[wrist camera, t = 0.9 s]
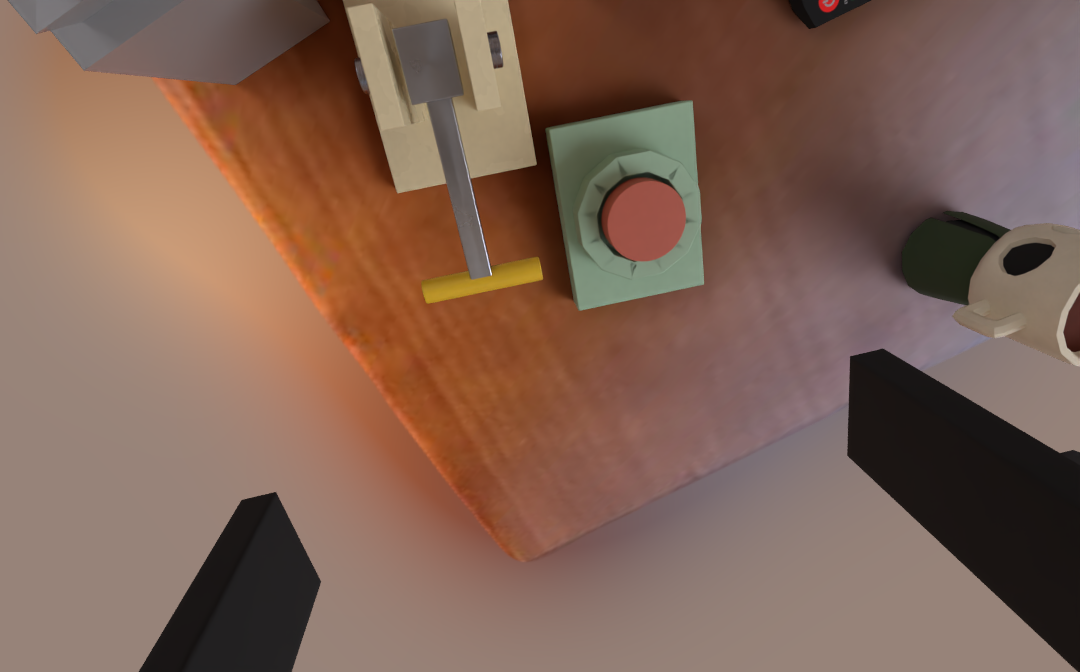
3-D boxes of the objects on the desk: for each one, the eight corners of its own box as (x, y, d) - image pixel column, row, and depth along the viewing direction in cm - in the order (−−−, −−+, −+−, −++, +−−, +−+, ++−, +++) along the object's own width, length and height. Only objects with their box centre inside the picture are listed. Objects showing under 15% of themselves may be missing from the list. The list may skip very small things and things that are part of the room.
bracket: (535, 163, 36) (564, 190, 24) (399, 190, 35) (361, 232, 24) (496, -55, 31) (508, -155, 19) (339, -25, 31) (253, -107, 19)
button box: (544, 127, 35) (552, 130, 31) (681, 100, 35) (705, 99, 31) (573, 301, 40) (583, 321, 36) (694, 276, 40) (716, 293, 36)
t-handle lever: (539, 270, 29) (545, 287, 27) (429, 293, 29) (426, 312, 27) (492, 13, 23) (494, 8, 21) (354, 39, 23) (343, 38, 21)
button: (596, 185, 33) (602, 189, 31) (673, 170, 33) (683, 173, 32) (606, 261, 35) (612, 268, 33) (679, 246, 35) (689, 252, 33)
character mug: (1002, 177, 39) (1230, 207, 27) (1005, 265, 42) (1214, 327, 30) (858, 237, 40) (1020, 291, 28) (871, 319, 43) (1023, 401, 31)
